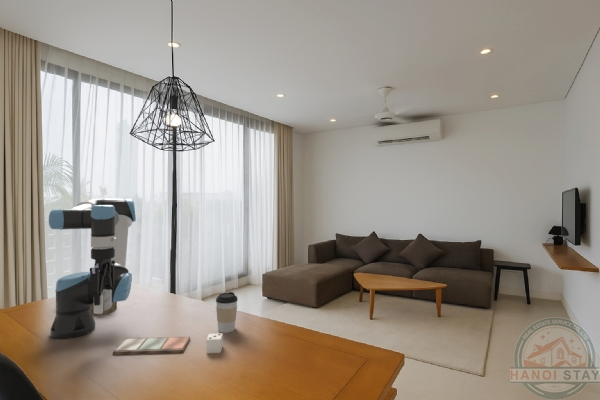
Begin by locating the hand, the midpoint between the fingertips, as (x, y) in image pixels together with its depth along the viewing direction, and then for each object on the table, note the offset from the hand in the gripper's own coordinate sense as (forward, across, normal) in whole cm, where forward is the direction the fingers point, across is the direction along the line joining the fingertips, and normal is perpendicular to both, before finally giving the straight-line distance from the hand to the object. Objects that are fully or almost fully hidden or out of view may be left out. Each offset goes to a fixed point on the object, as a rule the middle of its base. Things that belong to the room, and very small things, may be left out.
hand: (102, 310), depth 120 cm
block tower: (+15, +44, +27) cm, 54 cm away
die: (+14, -4, -41) cm, 44 cm away
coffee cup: (+14, +14, -43) cm, 47 cm away
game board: (+14, 0, -18) cm, 23 cm away
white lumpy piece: (0, 0, 0) cm, 0 cm away
